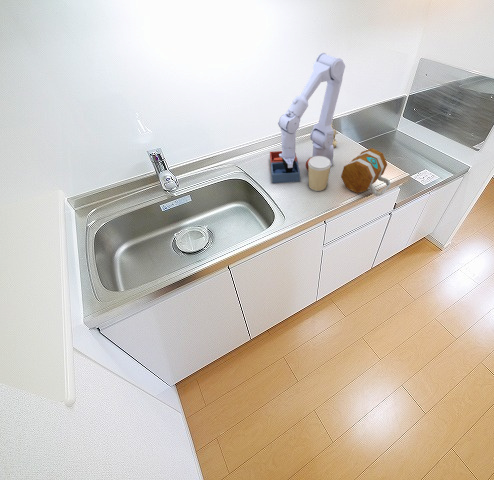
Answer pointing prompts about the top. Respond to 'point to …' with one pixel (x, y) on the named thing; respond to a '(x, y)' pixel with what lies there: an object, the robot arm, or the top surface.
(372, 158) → the mug
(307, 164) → the apple
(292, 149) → the robot arm
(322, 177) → the coffee cup
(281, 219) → the top surface
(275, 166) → the blue bin
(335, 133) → the robot
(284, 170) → the blue spoon
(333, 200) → the top surface
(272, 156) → the red bin
